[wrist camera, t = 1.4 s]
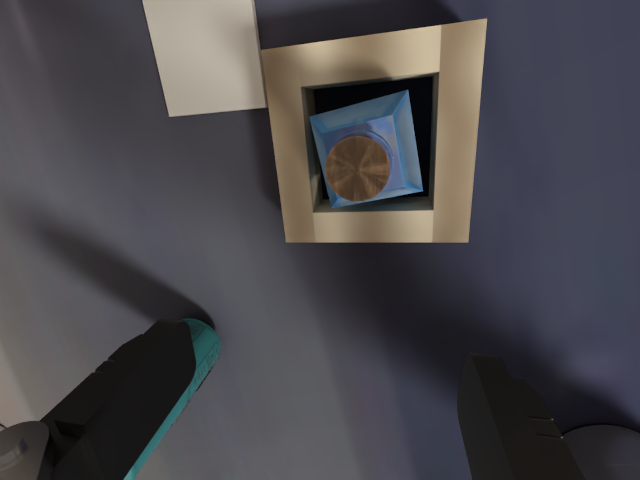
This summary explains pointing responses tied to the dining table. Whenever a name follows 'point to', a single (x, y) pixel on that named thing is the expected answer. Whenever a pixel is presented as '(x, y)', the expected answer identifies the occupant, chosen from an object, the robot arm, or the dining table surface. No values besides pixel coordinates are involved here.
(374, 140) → the perfume bottle
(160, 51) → the coaster
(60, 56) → the dining table surface
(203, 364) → the beverage bottle
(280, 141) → the pocket block
